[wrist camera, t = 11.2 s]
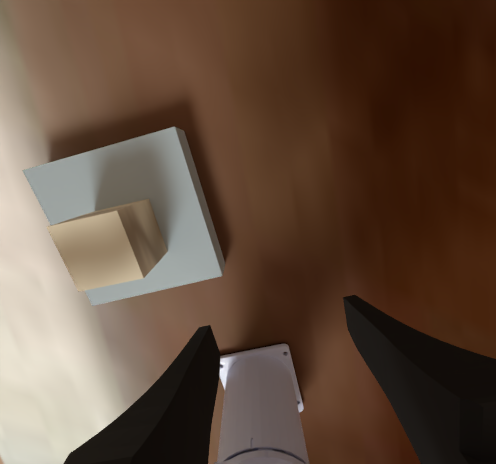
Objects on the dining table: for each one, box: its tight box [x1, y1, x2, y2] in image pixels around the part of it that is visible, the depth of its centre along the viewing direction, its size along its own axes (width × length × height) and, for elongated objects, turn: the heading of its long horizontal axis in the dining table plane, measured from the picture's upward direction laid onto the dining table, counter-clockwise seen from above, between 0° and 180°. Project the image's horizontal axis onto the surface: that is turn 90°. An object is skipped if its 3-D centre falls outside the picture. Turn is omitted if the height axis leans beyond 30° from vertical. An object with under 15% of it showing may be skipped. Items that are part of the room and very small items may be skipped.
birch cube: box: [47, 199, 167, 292], centre depth 17 cm, size 4×4×4 cm
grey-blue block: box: [23, 127, 225, 306], centre depth 20 cm, size 12×12×3 cm
